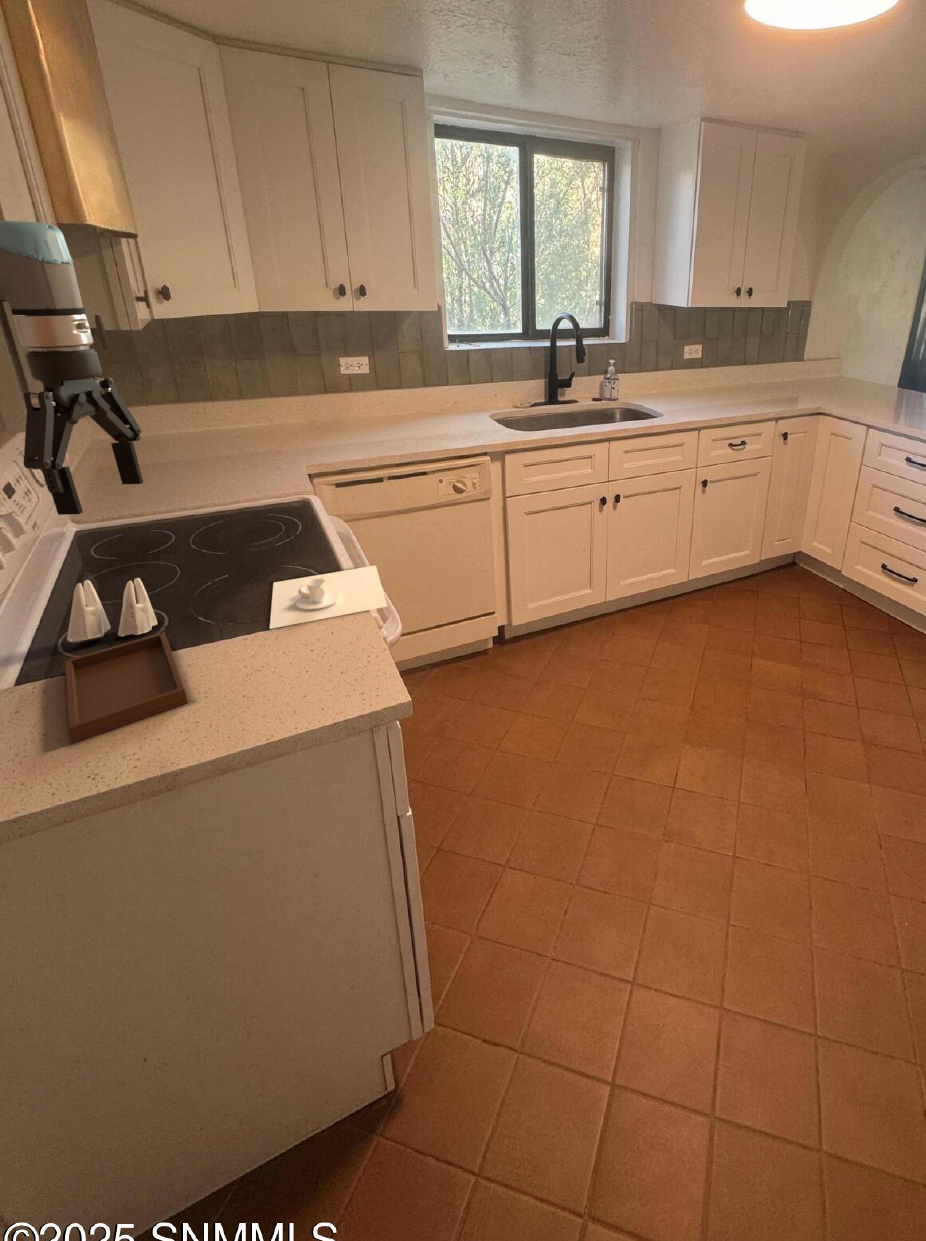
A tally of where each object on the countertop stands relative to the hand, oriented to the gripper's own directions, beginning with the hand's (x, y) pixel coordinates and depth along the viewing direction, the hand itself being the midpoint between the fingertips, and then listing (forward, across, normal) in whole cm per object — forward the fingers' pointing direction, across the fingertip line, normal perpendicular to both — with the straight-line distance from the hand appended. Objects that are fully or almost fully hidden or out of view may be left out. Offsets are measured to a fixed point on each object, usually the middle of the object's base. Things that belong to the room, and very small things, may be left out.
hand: (104, 497), depth 91 cm
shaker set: (+28, +8, +10) cm, 31 cm away
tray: (+28, -7, -1) cm, 29 cm away
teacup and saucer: (+28, +21, -21) cm, 41 cm away
